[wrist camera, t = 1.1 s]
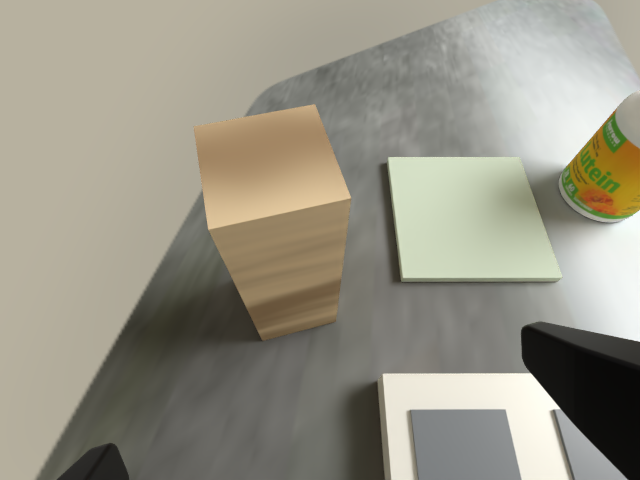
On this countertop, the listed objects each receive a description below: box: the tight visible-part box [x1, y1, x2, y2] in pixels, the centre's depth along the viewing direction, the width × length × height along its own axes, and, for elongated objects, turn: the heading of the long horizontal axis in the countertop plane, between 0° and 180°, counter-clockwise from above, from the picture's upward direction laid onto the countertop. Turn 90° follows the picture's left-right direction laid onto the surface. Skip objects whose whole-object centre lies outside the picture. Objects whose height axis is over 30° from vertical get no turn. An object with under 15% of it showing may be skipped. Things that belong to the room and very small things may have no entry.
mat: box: [387, 157, 563, 282], centre depth 26 cm, size 10×10×1 cm
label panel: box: [377, 374, 627, 480], centre depth 18 cm, size 9×14×2 cm, turn 90°
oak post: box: [194, 104, 351, 341], centre depth 18 cm, size 4×4×12 cm
